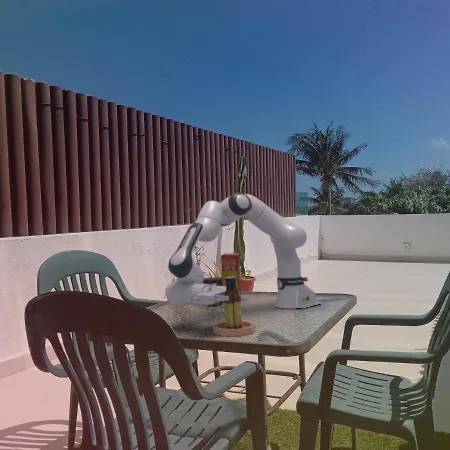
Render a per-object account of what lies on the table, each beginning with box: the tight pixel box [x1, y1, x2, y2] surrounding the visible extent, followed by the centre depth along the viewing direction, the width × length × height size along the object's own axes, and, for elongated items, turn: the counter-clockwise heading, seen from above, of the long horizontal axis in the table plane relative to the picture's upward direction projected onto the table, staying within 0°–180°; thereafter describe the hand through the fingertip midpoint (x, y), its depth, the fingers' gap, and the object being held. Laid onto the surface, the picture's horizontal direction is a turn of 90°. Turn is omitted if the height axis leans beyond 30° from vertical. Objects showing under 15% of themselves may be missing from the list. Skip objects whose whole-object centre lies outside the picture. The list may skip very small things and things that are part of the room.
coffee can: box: [201, 277, 224, 310], centre depth 240 cm, size 10×10×14 cm
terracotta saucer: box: [212, 320, 256, 337], centre depth 184 cm, size 15×15×2 cm
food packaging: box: [220, 252, 242, 304], centre depth 256 cm, size 13×9×25 cm
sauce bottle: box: [223, 277, 243, 329], centre depth 184 cm, size 7×6×20 cm
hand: (234, 296), depth 184 cm, fingers open, 8 cm apart
